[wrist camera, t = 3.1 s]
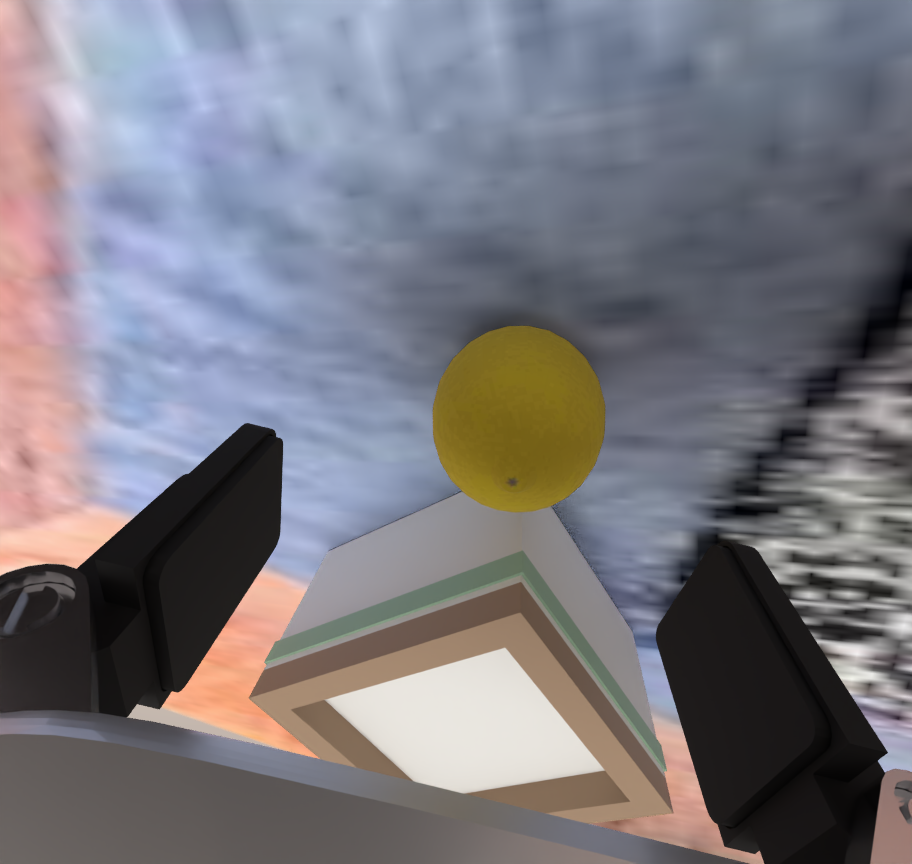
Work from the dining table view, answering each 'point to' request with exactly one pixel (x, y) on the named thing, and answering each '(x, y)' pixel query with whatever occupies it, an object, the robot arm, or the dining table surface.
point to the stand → (472, 666)
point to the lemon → (518, 419)
